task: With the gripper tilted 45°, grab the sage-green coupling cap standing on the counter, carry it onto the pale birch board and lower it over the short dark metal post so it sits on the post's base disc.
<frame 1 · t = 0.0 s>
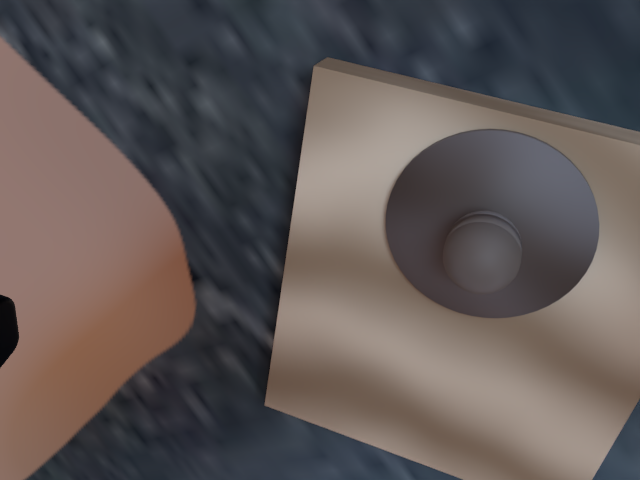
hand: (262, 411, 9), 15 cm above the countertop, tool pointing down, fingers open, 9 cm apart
mounting board: (461, 297, 24), on the countertop
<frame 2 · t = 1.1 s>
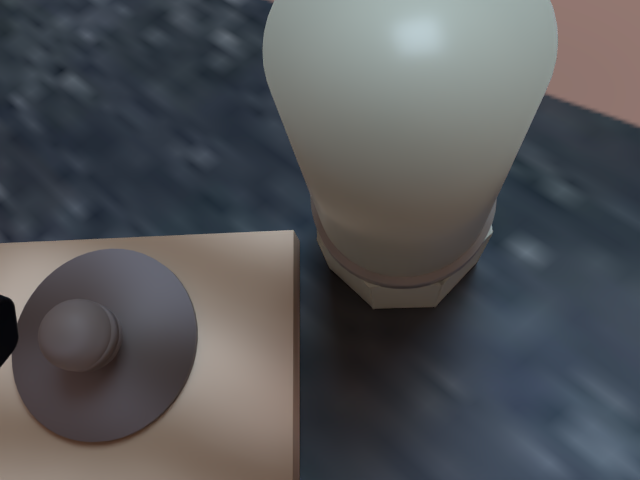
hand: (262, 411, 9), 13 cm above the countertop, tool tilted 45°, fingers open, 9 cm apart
mounting board: (114, 454, 22), on the countertop
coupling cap: (400, 236, 24), on the countertop
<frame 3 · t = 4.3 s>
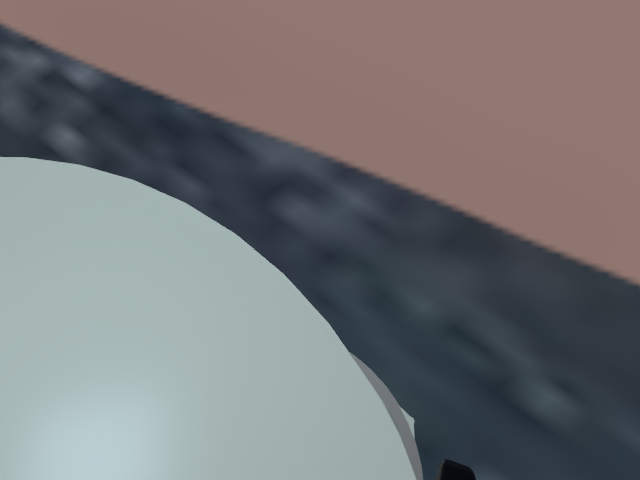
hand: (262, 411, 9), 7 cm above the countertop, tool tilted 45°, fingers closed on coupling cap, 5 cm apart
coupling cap: (299, 468, 15), on the countertop, touching gripper
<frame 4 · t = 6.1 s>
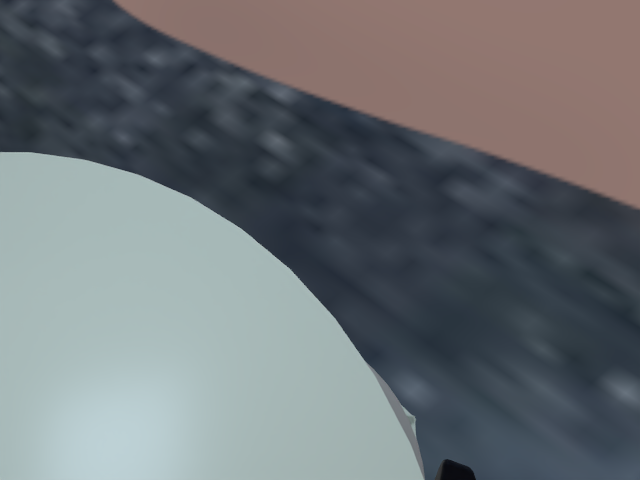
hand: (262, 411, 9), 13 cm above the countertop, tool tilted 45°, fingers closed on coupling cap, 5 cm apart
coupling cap: (300, 467, 15), point 6 cm above the countertop, touching gripper
when the fingers open (10 cm above the countertop, at t = 8.4 s): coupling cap drops 1 cm, resting on mounting board.
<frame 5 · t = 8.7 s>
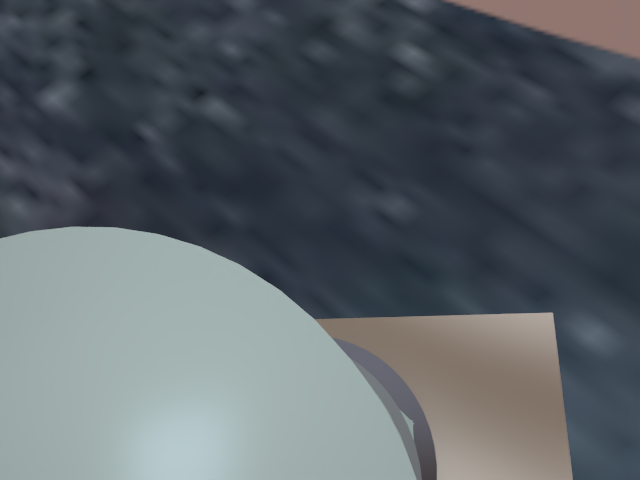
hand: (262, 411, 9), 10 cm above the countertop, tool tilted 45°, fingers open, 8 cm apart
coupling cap: (306, 466, 16), point 2 cm above the countertop, touching mounting board
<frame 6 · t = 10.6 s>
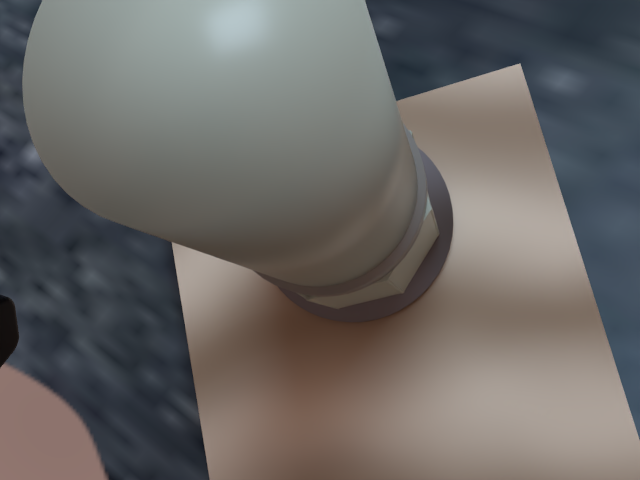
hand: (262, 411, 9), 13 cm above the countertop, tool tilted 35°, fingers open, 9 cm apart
mounting board: (384, 335, 22), on the countertop
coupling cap: (352, 223, 21), point 2 cm above the countertop, touching mounting board
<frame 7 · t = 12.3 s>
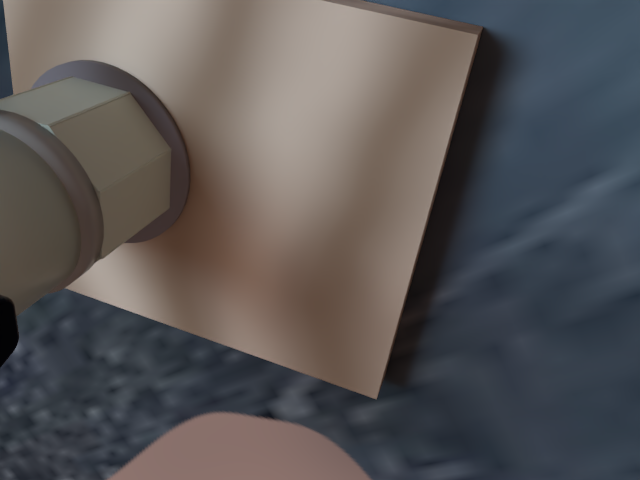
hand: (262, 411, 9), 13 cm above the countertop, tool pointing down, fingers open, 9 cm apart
mounting board: (221, 170, 23), on the countertop
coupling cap: (103, 158, 22), point 2 cm above the countertop, touching mounting board
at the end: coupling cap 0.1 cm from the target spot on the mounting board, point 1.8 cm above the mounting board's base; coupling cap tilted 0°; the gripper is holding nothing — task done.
